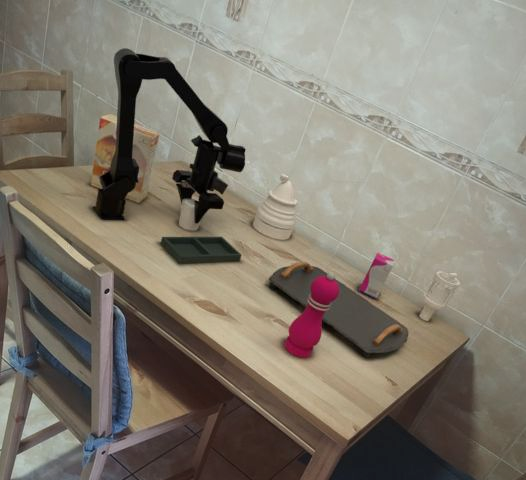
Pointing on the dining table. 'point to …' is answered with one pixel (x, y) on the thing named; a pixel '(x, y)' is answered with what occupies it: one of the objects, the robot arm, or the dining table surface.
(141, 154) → the coffeecake box
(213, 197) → the robot arm
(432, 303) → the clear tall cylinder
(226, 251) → the divided green tray
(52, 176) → the dining table surface
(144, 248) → the dining table surface
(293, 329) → the pepper mill
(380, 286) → the supplement box
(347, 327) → the serving tray
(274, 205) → the honey pot
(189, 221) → the shot glass
